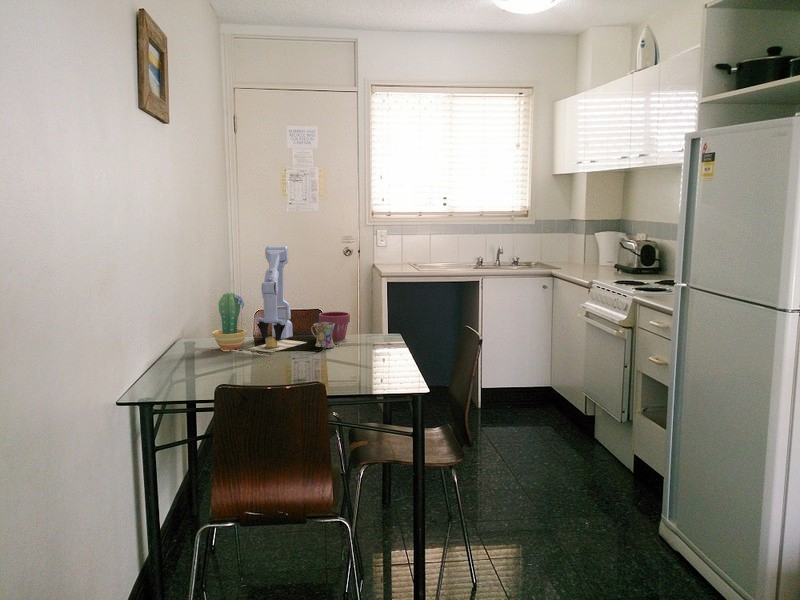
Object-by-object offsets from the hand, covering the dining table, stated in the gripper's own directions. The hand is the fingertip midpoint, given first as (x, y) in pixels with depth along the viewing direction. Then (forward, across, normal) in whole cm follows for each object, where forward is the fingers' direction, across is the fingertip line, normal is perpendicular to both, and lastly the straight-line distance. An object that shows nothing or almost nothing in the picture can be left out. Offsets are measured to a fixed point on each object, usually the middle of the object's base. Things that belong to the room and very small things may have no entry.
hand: (271, 339), depth 296 cm
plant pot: (+5, +12, +30) cm, 32 cm away
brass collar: (+3, 0, 0) cm, 3 cm away
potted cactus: (+5, -17, -8) cm, 19 cm away
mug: (+5, +16, +15) cm, 22 cm away
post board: (+4, 0, +4) cm, 6 cm away
